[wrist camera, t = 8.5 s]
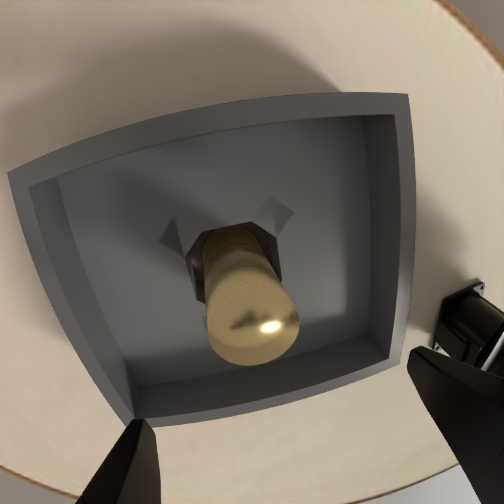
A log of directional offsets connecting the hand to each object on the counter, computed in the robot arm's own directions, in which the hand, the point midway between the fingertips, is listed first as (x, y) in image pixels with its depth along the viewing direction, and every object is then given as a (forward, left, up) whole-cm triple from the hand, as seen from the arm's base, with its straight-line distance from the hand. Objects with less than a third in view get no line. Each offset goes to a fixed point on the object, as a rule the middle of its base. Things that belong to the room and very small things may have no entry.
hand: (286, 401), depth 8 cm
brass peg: (0, -1, -11) cm, 11 cm away
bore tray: (0, -1, -11) cm, 11 cm away
